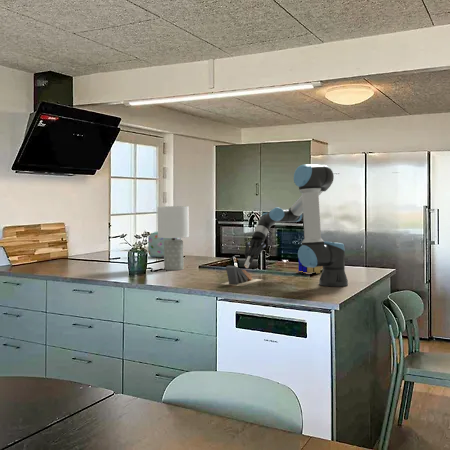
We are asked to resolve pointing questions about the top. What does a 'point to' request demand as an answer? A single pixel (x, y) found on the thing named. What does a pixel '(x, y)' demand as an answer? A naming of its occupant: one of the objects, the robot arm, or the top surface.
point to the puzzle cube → (308, 268)
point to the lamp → (173, 233)
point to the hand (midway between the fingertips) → (246, 266)
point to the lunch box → (156, 245)
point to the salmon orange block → (247, 275)
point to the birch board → (243, 282)
